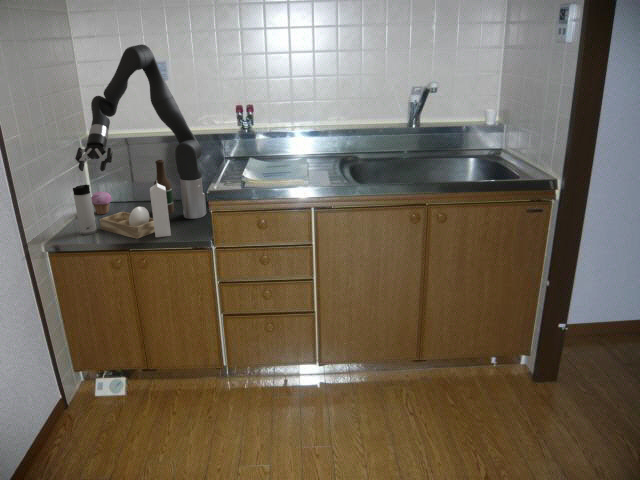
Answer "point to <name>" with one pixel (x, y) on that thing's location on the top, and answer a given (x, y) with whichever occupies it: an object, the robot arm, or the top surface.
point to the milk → (160, 210)
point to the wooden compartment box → (126, 225)
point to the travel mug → (84, 209)
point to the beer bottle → (164, 184)
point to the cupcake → (101, 202)
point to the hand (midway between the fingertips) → (91, 170)
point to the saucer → (138, 216)
